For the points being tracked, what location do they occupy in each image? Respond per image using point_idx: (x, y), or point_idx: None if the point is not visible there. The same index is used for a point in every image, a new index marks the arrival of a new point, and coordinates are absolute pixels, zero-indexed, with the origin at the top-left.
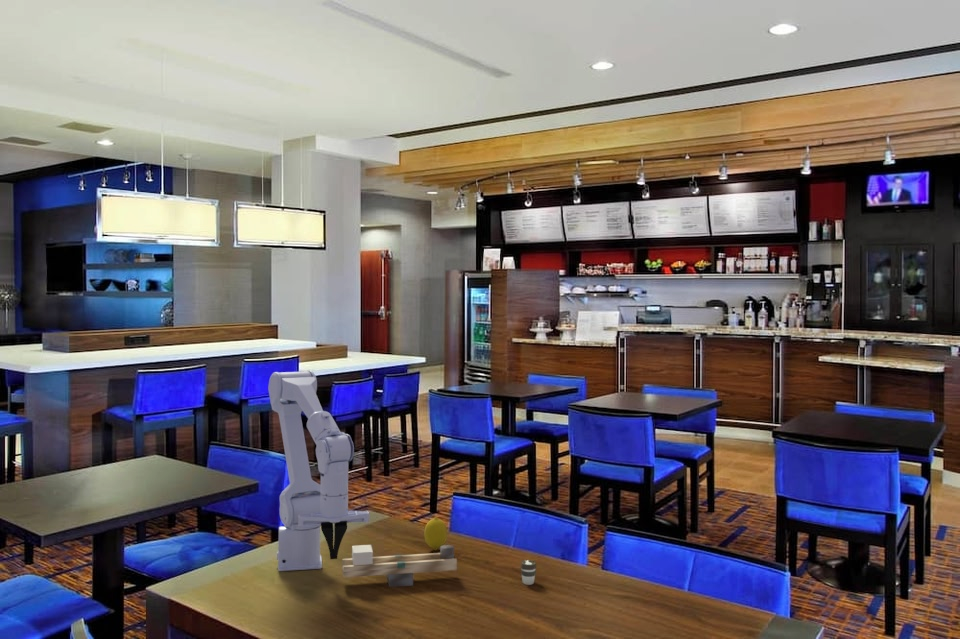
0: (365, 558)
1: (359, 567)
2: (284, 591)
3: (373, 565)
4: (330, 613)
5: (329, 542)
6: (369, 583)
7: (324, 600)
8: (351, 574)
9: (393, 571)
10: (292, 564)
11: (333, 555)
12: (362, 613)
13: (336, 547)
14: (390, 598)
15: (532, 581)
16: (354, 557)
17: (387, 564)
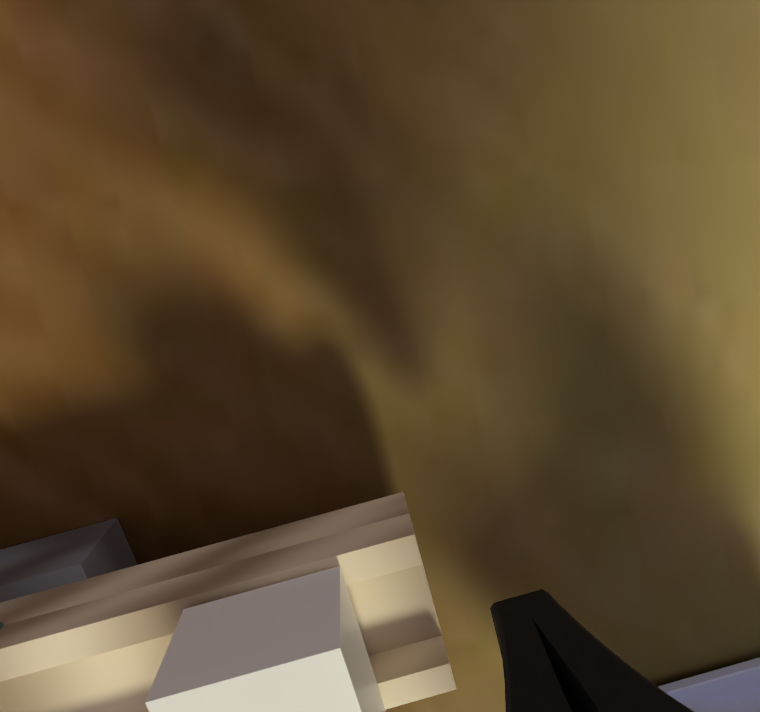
0: (231, 631)
1: (290, 561)
2: (726, 399)
3: (177, 599)
4: (399, 77)
5: (648, 704)
6: None
7: (476, 286)
8: (349, 515)
9: (47, 601)
10: (741, 707)
11: (532, 613)
12: (184, 87)
13: (534, 677)
14: (61, 349)
15: None
16: (330, 616)
17: (62, 629)
